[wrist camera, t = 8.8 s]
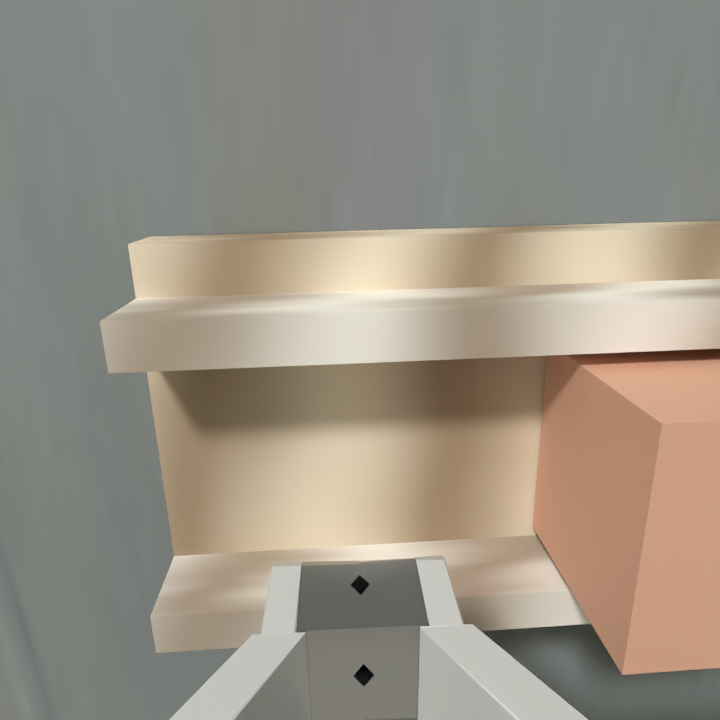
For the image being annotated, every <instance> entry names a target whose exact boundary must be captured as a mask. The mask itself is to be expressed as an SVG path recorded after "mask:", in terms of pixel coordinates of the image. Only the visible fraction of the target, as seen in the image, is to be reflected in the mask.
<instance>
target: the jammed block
mask: <svg viewBox="0 0 720 720" xmlns="http://www.w3.org/2000/svg"><path fill="white" fill-rule="evenodd" d="M532 527H533V528H534V530H535V532H536V533H537V535H538V536H539V538H540V540H541V541H542V543H543V545H544V546H545V548H546V550H547V551H548V553H549V555H550V556H551V558H552V560H553V561H554V563H555V565H556V566H557V568H558V570H559V571H560V573H561V575H562V576H563V578H564V579H565V581H566V583H567V584H568V586H569V588H570V589H571V591H572V593H573V594H574V596H575V598H576V599H577V601H578V603H579V604H580V606H581V608H582V609H583V611H584V613H585V614H586V616H587V618H588V619H589V621H590V623H591V624H592V626H593V627H594V629H595V631H596V632H597V634H598V636H599V637H600V639H601V641H602V642H603V644H604V646H605V647H606V649H607V651H608V652H609V654H610V656H611V657H612V659H613V661H614V662H615V664H616V666H617V667H618V669H619V670H620V672H621V674H622V675H627V674H641V673H655V672H668V671H682V670H696V669H710V668H720V349H696V350H671V351H647V352H622V353H598V354H573V355H549V356H547V363H546V374H545V386H544V397H543V409H542V421H541V432H540V444H539V456H538V467H537V479H536V491H535V502H534V514H533V526H532Z"/></svg>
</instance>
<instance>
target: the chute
mask: <svg viewBox="0 0 720 720" xmlns="http://www.w3.org/2000/svg"><path fill="white" fill-rule="evenodd" d="M128 248H129V255H130V261H131V268H132V275H133V282H134V288H135V295H136V299H135V300H133V301H131V302H130V303H128V304H127V305H125V306H124V307H122V308H120V309H119V310H117V311H116V312H114V313H113V314H111V315H109V316H108V317H106V318H105V319H103V320H102V321H100V327H101V332H102V338H103V344H104V350H105V356H106V362H107V367H108V373H132V372H147V376H148V383H149V389H150V396H151V403H152V410H153V416H154V423H155V430H156V437H157V443H158V450H159V457H160V464H161V470H162V477H163V484H164V491H165V497H166V504H167V511H168V517H169V524H170V531H171V538H172V544H173V551H174V558H173V561H172V563H171V566H170V568H169V571H168V573H167V576H166V578H165V581H164V583H163V586H162V589H161V591H160V594H159V596H158V599H157V601H156V604H155V606H154V609H153V611H152V614H151V616H150V619H151V625H152V630H153V636H154V642H155V648H156V653H164V652H179V651H194V650H209V649H224V648H238V647H240V646H241V645H242V644H243V643H244V642H245V641H246V640H247V639H248V638H249V637H250V636H251V635H257V634H261V629H262V622H263V616H264V610H265V603H266V597H267V590H268V584H269V578H270V571H271V567H272V565H273V564H274V563H285V562H301V563H303V562H312V561H366V560H387V559H407V558H414V557H425V556H440V555H442V556H443V557H444V558H445V561H446V565H447V568H448V571H449V575H450V578H451V582H452V585H453V588H454V592H455V595H456V599H457V602H458V605H459V609H460V612H461V616H462V619H463V622H464V624H473V625H474V626H476V627H477V628H478V629H479V630H480V631H491V630H505V629H520V628H535V627H550V626H565V625H580V624H591V623H590V621H589V619H588V618H587V616H586V614H585V613H584V611H583V609H582V608H581V606H580V604H579V603H578V601H577V599H576V598H575V596H574V594H573V593H572V591H571V589H570V588H569V586H568V584H567V583H566V581H565V579H564V578H563V576H562V575H561V573H560V571H559V570H558V568H557V566H556V565H555V563H554V561H553V560H552V558H551V556H550V555H549V553H548V551H547V550H546V548H545V546H544V545H543V543H542V541H541V540H540V538H539V536H538V535H537V533H536V532H535V530H534V528H533V527H532V526H533V514H534V502H535V491H536V479H537V467H538V456H539V444H540V432H541V421H542V409H543V397H544V386H545V374H546V363H547V356H549V355H573V354H598V353H622V352H647V351H671V350H696V349H720V221H689V222H653V223H618V224H582V225H546V226H511V227H475V228H439V229H404V230H368V231H332V232H297V233H261V234H225V235H190V236H154V237H148V238H145V239H142V240H139V241H136V242H133V243H130V244H128Z"/></svg>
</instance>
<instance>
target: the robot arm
mask: <svg viewBox="0 0 720 720" xmlns="http://www.w3.org/2000/svg"><path fill="white" fill-rule="evenodd" d="M364 716H365V719H402V718H418V720H588V719H587V718H585V717H584V716H583V715H582V714H581V713H579V712H578V711H577V710H576V709H575V708H573V707H572V706H571V705H570V704H569V703H567V702H566V701H565V700H564V699H562V698H561V697H560V696H559V695H558V694H556V693H555V692H554V691H553V690H552V689H550V688H549V687H548V686H547V685H546V684H544V683H543V682H542V681H541V680H540V679H538V678H537V677H536V676H535V675H533V674H532V673H531V672H530V671H529V670H527V669H526V668H525V667H524V666H523V665H521V664H520V663H519V662H518V661H517V660H515V659H514V658H513V657H512V656H511V655H509V654H508V653H507V652H506V651H505V650H503V649H502V648H501V647H500V646H498V645H497V644H496V643H495V642H494V641H492V640H491V639H490V638H489V637H488V636H486V635H485V634H484V633H483V632H482V631H480V630H479V629H478V628H477V627H476V626H474V625H473V624H464V622H463V619H462V616H461V612H460V609H459V605H458V602H457V599H456V595H455V592H454V588H453V585H452V582H451V578H450V575H449V571H448V568H447V565H446V561H445V558H444V557H443V556H442V555H440V556H425V557H414V558H407V559H387V560H366V561H312V562H303V563H301V562H285V563H274V564H273V565H272V567H271V571H270V578H269V584H268V590H267V597H266V603H265V610H264V616H263V622H262V629H261V634H257V635H251V636H250V637H249V638H248V639H247V640H246V641H245V642H244V643H243V644H242V645H241V646H240V647H239V648H238V650H237V651H236V652H235V653H234V654H233V655H232V656H231V657H230V658H229V659H228V660H227V661H226V662H225V663H224V664H223V665H222V666H221V667H220V668H219V669H218V670H217V671H216V672H215V673H214V674H213V675H212V676H211V677H210V678H209V679H208V680H207V681H206V682H205V683H204V684H203V685H202V687H201V688H200V689H199V690H198V691H197V692H196V693H195V694H194V695H193V696H192V697H191V698H190V699H189V700H188V701H187V702H186V703H185V704H184V705H183V706H182V707H181V708H180V709H179V710H178V711H177V712H176V713H175V714H174V715H173V716H172V717H171V718H170V719H169V720H363V719H364Z"/></svg>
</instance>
